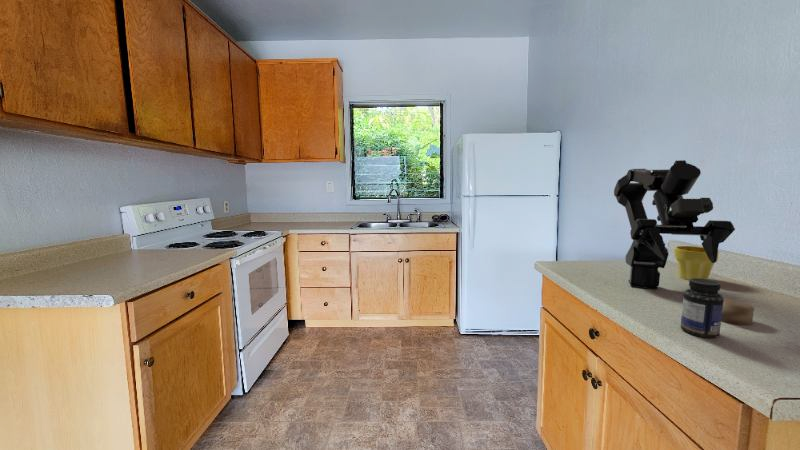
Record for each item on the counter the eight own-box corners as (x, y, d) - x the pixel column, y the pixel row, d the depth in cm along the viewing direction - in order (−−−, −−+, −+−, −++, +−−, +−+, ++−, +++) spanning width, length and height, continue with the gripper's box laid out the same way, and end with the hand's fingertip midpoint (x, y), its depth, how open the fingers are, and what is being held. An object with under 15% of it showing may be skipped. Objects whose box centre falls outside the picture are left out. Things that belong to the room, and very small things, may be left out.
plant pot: (683, 282, 102) (687, 251, 101) (665, 273, 112) (668, 245, 111) (723, 284, 100) (727, 252, 99) (701, 274, 110) (704, 246, 109)
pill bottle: (709, 328, 71) (715, 278, 70) (726, 341, 65) (733, 287, 64) (674, 324, 73) (679, 276, 72) (688, 336, 67) (693, 284, 66)
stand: (714, 321, 74) (716, 306, 74) (705, 310, 80) (706, 296, 80) (758, 327, 71) (760, 312, 70) (744, 316, 77) (746, 301, 77)
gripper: (638, 186, 80) (653, 238, 72) (735, 185, 75) (764, 242, 66) (625, 214, 89) (636, 265, 80) (710, 216, 83) (733, 270, 74)
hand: (689, 260), depth 75 cm, fingers open, 9 cm apart
